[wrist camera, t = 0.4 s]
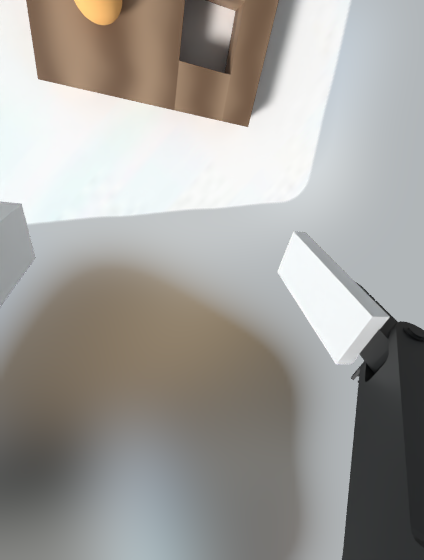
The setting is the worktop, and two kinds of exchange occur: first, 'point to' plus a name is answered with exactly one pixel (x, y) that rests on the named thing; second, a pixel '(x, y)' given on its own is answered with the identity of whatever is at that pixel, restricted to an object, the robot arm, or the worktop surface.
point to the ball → (100, 10)
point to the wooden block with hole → (152, 55)
